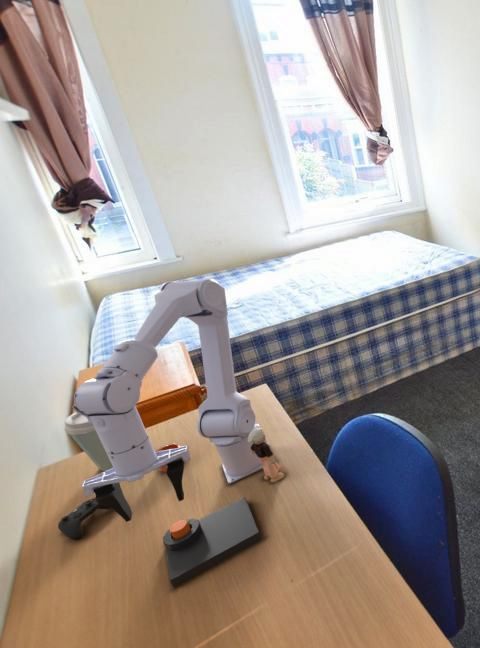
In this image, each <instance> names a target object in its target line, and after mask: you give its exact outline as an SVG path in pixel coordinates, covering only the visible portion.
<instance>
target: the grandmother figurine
mask: <svg viewBox="0 0 480 648" xmlns="http://www.w3.org/2000/svg"><path fill="white" fill-rule="evenodd" d="M266 438H267V437H266V434H265V433H264V430H263V428H262V427H261V428H255V429H254V430H252V431H251V433H250V434H249V437H248V442H249V443H251V442H253V444H252V446H251V450H252V454H256V455H257V456H258V457H259V459H260V461H261V464H262V467H263V468H262V470H263V472H264V476H263V479H264V480H266V481H267V480H270V482H271V483H275V482H278V481H279V480H282V479H283V478H284V477H285V474H284V473H283V472H282V471H281V472H280V466H279V464H278V462H277V459H276V458H275V456H274V453H273V451H272V449H271V447H269V446H270V444H269V443H268V442H267V443H268V444H269V445H268V444H267V443H265V442H264V441H265V439H266ZM270 449H271V450H270Z"/></svg>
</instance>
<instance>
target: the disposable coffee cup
mask: <svg viewBox="0 0 480 648" xmlns="http://www.w3.org/2000/svg"><path fill="white" fill-rule="evenodd" d="M63 429H64V431H65V432H64V433H66V434H69V436H70V437H71V438H72V440H74V441H75V443H76V444H77V446H79V447H80V448H81V449H82V451H83V452H84V453H85V454H86V456H87V457H88V458H89V459H90V460H91V461H92V462H93V464H94V465H95V466H96V467H97V469H99V470H101V471H103V472H105V471H107V470H110V469H112V468H113V466H112V464H111V461H110V459H109V457H108V455H107V453H106V451H105V449H104V447H103V445H102V442H101V440H100V438H99V436H98V434H97V432H96V430H95V428H94V425H92V424H90V423H89V421H88V419H87V418H86V417H85V416H83V415H80V414H78V413H77V412H75V411H74V412H73V413H71V415H69V416H67V417H66V418H65V422H64V428H63Z"/></svg>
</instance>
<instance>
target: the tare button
mask: <svg viewBox="0 0 480 648" xmlns="http://www.w3.org/2000/svg"><path fill="white" fill-rule="evenodd" d="M169 529H170V532H171V534H172V536H173V538H175V539H178V538H181V537H183V536H185V535H186V534H187V533H188V532H189V531H190V526H189V524H188V522H187V519H180V520H178V521H176V522H174V523H173V524H172V525H170V527H169Z"/></svg>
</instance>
